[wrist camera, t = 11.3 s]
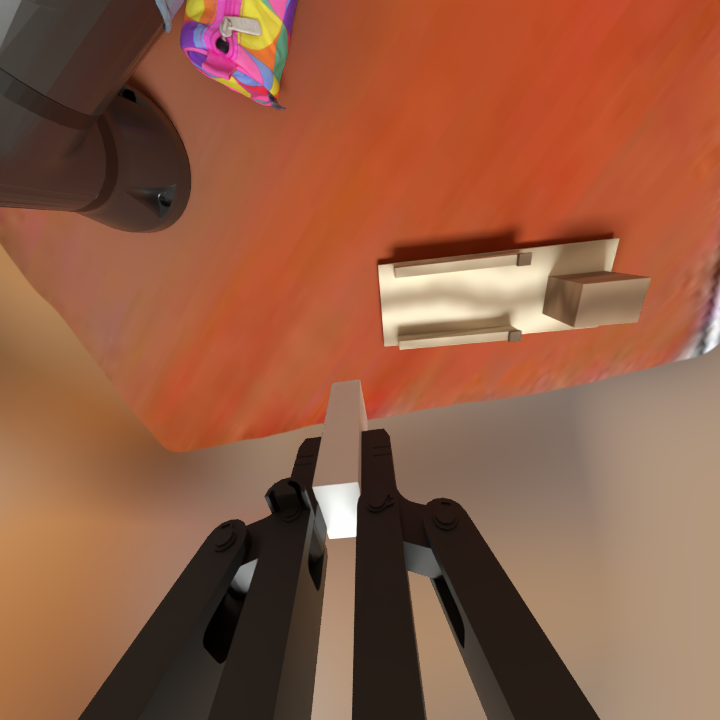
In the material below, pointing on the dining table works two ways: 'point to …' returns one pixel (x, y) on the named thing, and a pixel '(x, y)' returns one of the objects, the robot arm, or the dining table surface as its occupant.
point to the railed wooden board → (480, 293)
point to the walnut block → (595, 298)
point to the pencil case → (240, 43)
